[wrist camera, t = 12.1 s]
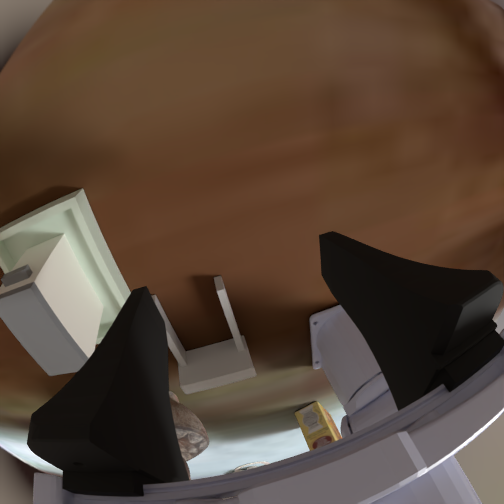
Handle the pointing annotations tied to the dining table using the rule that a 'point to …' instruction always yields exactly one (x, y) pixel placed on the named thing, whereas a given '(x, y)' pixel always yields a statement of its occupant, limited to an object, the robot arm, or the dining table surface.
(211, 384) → the bay
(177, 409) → the pottery
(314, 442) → the candy box
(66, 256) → the block
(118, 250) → the dining table surface
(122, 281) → the tray
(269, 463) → the white headphones
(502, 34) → the dining table surface
